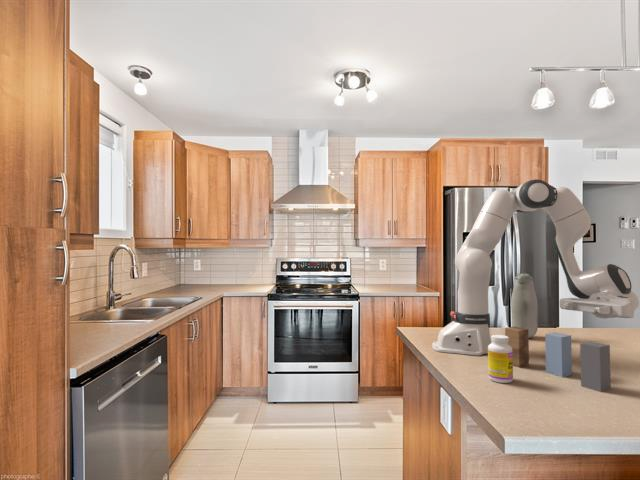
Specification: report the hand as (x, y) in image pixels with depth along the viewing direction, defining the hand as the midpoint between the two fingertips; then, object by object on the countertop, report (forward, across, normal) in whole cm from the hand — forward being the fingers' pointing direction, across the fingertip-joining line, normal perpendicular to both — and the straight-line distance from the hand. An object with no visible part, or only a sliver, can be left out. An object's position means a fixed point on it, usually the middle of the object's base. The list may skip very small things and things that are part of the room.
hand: (580, 308), depth 125 cm
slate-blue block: (+12, 0, +19) cm, 23 cm away
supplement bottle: (+34, -5, +19) cm, 39 cm away
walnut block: (+15, -12, +19) cm, 27 cm away
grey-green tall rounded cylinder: (-23, -36, +19) cm, 47 cm away
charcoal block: (+15, +12, +19) cm, 27 cm away
